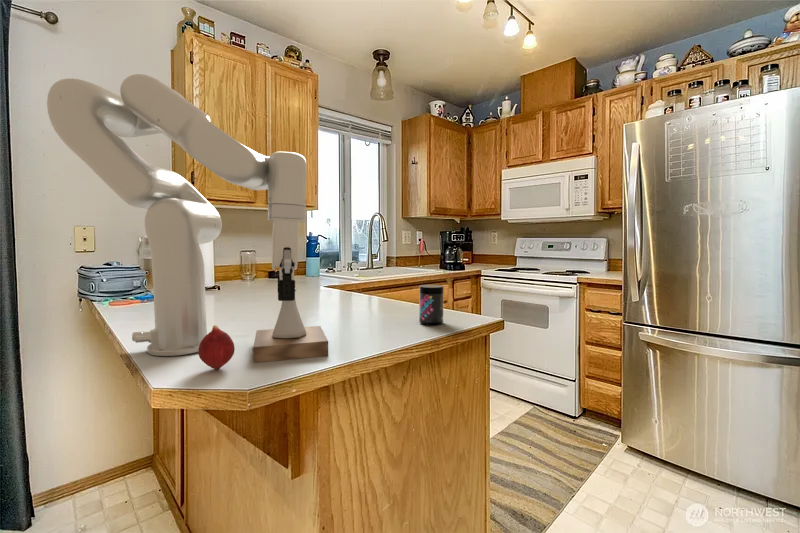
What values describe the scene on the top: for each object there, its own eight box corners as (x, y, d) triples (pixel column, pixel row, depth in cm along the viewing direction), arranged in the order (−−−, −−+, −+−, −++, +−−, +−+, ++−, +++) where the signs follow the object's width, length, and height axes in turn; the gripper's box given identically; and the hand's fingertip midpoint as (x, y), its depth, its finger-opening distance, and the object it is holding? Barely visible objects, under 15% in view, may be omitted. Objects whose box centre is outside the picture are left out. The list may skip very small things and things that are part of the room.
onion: (242, 366, 71) (240, 323, 70) (217, 376, 66) (216, 330, 65) (217, 362, 73) (215, 321, 72) (191, 372, 67) (189, 327, 67)
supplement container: (418, 320, 110) (418, 284, 109) (441, 320, 110) (442, 284, 109) (419, 326, 103) (419, 287, 103) (445, 326, 103) (445, 287, 103)
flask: (302, 339, 78) (301, 290, 77) (266, 339, 78) (265, 290, 77) (310, 331, 85) (309, 286, 84) (277, 331, 85) (276, 286, 84)
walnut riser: (253, 362, 73) (253, 347, 73) (256, 343, 86) (256, 330, 86) (328, 355, 77) (328, 340, 77) (320, 338, 91) (320, 325, 90)
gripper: (268, 215, 87) (267, 291, 88) (267, 211, 70) (266, 304, 72) (302, 217, 89) (301, 290, 90) (309, 213, 73) (307, 303, 74)
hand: (285, 296), depth 81 cm, fingers open, 9 cm apart
